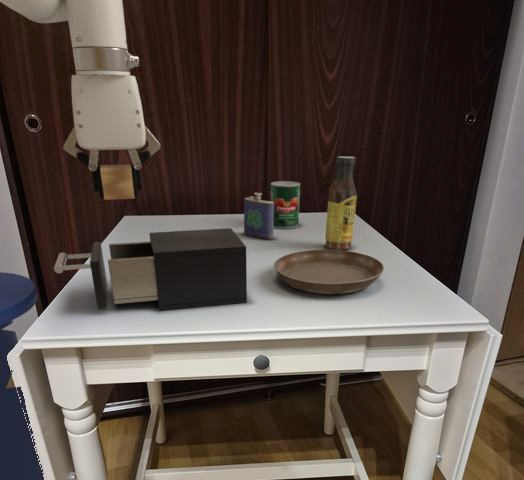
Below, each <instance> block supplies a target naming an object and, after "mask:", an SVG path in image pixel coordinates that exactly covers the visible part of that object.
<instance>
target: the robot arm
mask: <svg viewBox="0 0 524 480" xmlns="http://www.w3.org/2000/svg"><path fill="white" fill-rule="evenodd" d="M0 3H1V4H3V5H4V6H6V7H8V8H9V9H11V10H12V11H14V12H16V13H18V14H20V15H21V16H23V17H25V18H27V19H28V20H29V21H32V22H35V23H38V24H54V23H60V22H61V23H62V22H68V28H69V33H70V34H69V35H70V42H71V48H72V54H73V61H74V67H75V74H72V75H71V84H70V85H71V86H70V87H71V104H72V115H73V123H74V124H73V125H74V126H73V128H72V130H71V131H70V133H69V135H68V137H67V139H66V141H65V142H64V144H63V146H62V147H63V150H64V151H65V152H66V153H68V154H69V155H71V156H72V157H73V158H76V159H77V160H78V161H79V162H80V163H82V164H83V165H84V166H86V168H88V169H89V171H90V172H91V177H92V184H93V190H94V192H95V193H97V192H98V195H99V198H100V199H104V193H103V186H102V179H101V172H100V167H101V166H100V165H99V164H98V162H99V154H100V153H99V152H100V151H115V150H116V151H117V150H119V151H120V150H121V151H122V150H123V151H124V150H127V152H128V154H129V157H130V160H131V172H132V181H133V189H134V197H139V191H142V190H143V184H142V174H141V169H142V167H144V165H145V164H146V163H147V161H148V160H149V159H150V158H151V157H152V156H153V155H154V154H155V153H157V152H158V151H159V150H160V149H161V144H160V143H159V141H158V140H157V139H156V137H155V136H154V135H153V134H152V133H151V131H150V130H149V128H148V127H147V126H146V125H145V119H144V111H143V105H142V99H141V94H140V89H139V86H138V82H137V78H136V76H135V75H131V70H132V69H133V68H135V67H137V68H138V67H140V57H139V55H133V54H131V53H130V52H129V50H128V41H127V32H126V22H125V13H124V5H123V0H0ZM146 142H147V143H148V146H146V148H145V149H144V150H142V151H141V152H140V153H139V154H138V150H137V149H141V148H143V147H145V145H146ZM76 144H78V146H79V147H80V148H82V149H85V150H87V151H89V154H87V153H85V152H84V151H82V150H81V149H79V148H78V147H77V146H76Z"/></svg>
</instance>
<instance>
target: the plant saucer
mask: <svg viewBox="0 0 524 480" xmlns="http://www.w3.org/2000/svg"><path fill="white" fill-rule="evenodd" d="M273 268H274V270H275V272H276V273H277V275H278V276H279V277H280V278H281V280H283V281H284V282H285V283H286V284H287V285H288V286H290V287H292V288H294V289H297V290H299V291H302V292H307V293H310V294H311V293H312V294H319V295H344V294H352V293H355V292H359V291H361V290H364V289H366V288H368V287H369V286H370V285H372V284H373V283H374V282H375V281H377V279H379V277H380V276H381V275H382V274H383V273H384V271H385V266H384V264H383V262H382V261H381V260H379V259H377V258H375V257H373V256H370V255H369V254H368V255H367V254H365V253H361V252H356V251H350V250H334V249H307V250H302V251H295V252H291V253H288V254H286V255H283V256H280V257H279V258H278V259H276V260H275V262H274V263H273Z"/></svg>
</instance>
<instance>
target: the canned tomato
mask: <svg viewBox="0 0 524 480" xmlns="http://www.w3.org/2000/svg"><path fill="white" fill-rule="evenodd" d="M300 198H301V182H298V181H292V180H291V181H289V180H279V181H272V182H270V201H272V202H274V218H273V229H295V228H298V227H299V226H300V225H299V220H300Z"/></svg>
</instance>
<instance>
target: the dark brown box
mask: <svg viewBox="0 0 524 480" xmlns="http://www.w3.org/2000/svg"><path fill="white" fill-rule="evenodd" d="M150 241H151V246H152V251H153V256H154V265H155V274H156V284H157V294H158V300H157V305H158V310H159V311H160V312H161V311H162V312H163V311H171V310H181V309H192V308H193V309H194V308H203V307H215V306H225V305H235V304H246V303H247V302H248V284H247V283H248V280H247V277H248V276H247V273H248V272H247V246H246V245H245V243H244V242H243V241H242V240H241V239H240V237H239V236H238V235H237V234H236V233H235V231H234V230H233V229H232V228H231V227H227V228H226V227H225V228H211V229H191V230H174V231H156V232H149V242H150Z"/></svg>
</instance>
